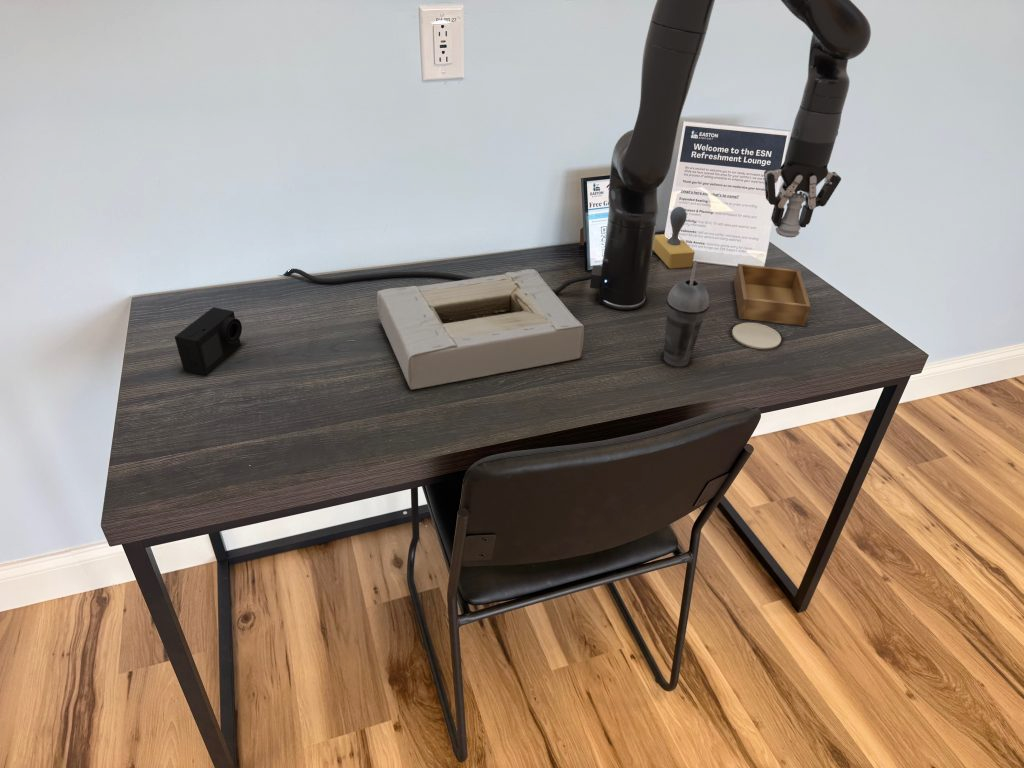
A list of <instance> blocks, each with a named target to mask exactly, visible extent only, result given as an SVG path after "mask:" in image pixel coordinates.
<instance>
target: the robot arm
mask: <svg viewBox="0 0 1024 768" xmlns="http://www.w3.org/2000/svg"><path fill="white" fill-rule="evenodd" d="M715 2H716V0H656V2H655V5H654V8H653V11H652V14H651V17H650V22H649V26H648V30H647V33H646V38H645V42H644V47H643V51H642V52H643V53H642V59H641V73H640V74H641V75H640V76H641V77H640V97H639V98H640V99H639V107H638V111H637V117H636V120H635V124H634V127H633V129H631V130H628V131H627V132H625V133H624V134H622V135H621V136H620V137H619V139H618V140H617V142H616V143H615V145H614V148H613V150H612V154H611V155H612V156H611V162H610V173H609V182H608V183H609V184H608V197H607V199H608V215H607V226H606V234H605V241H604V242H605V243H604V250H603V258H602V262H601V263H602V264H601V265H592V269H591V274H585V275H582V276H581V275H580V276H577V277H573V278H570V279H568V280H566V281H564V282H563V283H562V284H560V285H559V286H558V287H556V288H555V289H551V290H552V291H553V292H554V293H555V295H556V294H559V293H561V292H562V291H563V290H565V289H566V288H567V287H568V286H570V285H573V284H577V283H580V282H584V281H589V280H590V281H589V288H590V289H597V290H599V291H598V299H597V303H598V304H602V305H605V306H607V307H609V308H611V309H615V310H622V311H629V310H630V311H631V310H636V309H639V308H641V307H642V306H644V304H645V303H646V294H647V288H648V282H649V275H650V269H651V261H652V255H653V251H654V250H653V244H654V237H655V235H656V231H657V223H658V219H659V210H660V209H659V202H658V188H659V187H661V185H662V184H663V183H664V182H665V180H666V179H667V177H668V175H669V173H670V170H671V165H672V161H673V157H674V150H675V145H676V138H677V134H678V129H679V123H680V120H681V116H682V113H683V109H684V106H685V103H686V100H687V97H688V95H689V91H690V88H691V85H692V82H693V78H694V75H695V71H696V69H697V66H698V62H699V59H700V56H701V53H702V49H703V46H704V43H705V39H706V36H707V32H708V29H709V24H710V22H711V21H710V20H711V17H712V13H713V10H714V6H715ZM780 2H781V3H782V4H783V5H784V7H786V8H787V9H788V11H789V12H790V13H791V14H792V15H793V16H794V17H795V18H796V19H798V20H799V21H801V22H802V23H803V24H804V25H805V26H806V27H807V28H808V29H809V30H810V32H812V35H811V39H810V44H809V45H810V46H809V54H808V62H807V63H808V64H807V78H806V82H805V86H804V89H803V92H802V96H801V99H800V100H801V101H800V104H799V107H798V110H797V113H796V115H795V118H794V122H793V126H792V129H791V133H790V137H789V141H788V145H787V149H786V152H785V156H784V161H783V163H782V164H781V166H780V167H779V168H778V169H774V170H770V169H766V170H764V172H763V179H764V193H765V199H766V201H768V203H769V205H771V206H772V205H773V209H772V213H771V217H770V220H771V222H772V224H773V225H774V227H776V228H777V227H779V226H780V224H781V220H782V218H783V217H784V214H785V213H784V212H785V206H786V205H787V203H788V201H789V200H788V199H789V198H790V197H791V196H792V194H793V193H794V192H797V191H798V192H800V191H801V192H803V193H805V196H804V197H805V199H806V200H805V201H804V204H803V205H802V208H801V211H800V214H799V222H800V223H799V225H800V228H806V227H807V225H809V224H810V223H811V219H812V216H813V213H814V210H815V209H816V208H817V207H825V206H826V205H827V203H828V202H829V200H830V198H831V197H832V195H833V194H834V192H835V191H836V189H837V188H838V186H839V185H840V182H841V181H842V177H841V176H840V175H839V174H838V173H837V172H836V171H832V172H831V171H829V169H828V165H829V163H830V159H831V157H832V153H833V149H834V147H835V144H836V140H837V137H838V135H839V129H840V126H841V121H842V120H841V119H842V113H843V110H844V107H845V104H846V103H845V102H846V100H847V97H848V93H849V89H850V81H851V80H850V77H849V74H848V72H847V71H848V69H847V67H848V63H849V60H852V59H855V58H857V57H858V56H860V55H861V54H862V53H864V51H865V50H867V49H866V48H868V45H869V43H870V41H871V36H872V30H871V25H870V22H869V20H868V18H867V16H865V14H864V13H863V12H862V11H861V10H860V9H859V7H857V5H856V4H855V3H854V2H853V1H851V0H780ZM780 177H781V179H782V181H783V182H782V183H781V185H780V187H779V191H778V193H777V194H776V183H777V182H778V181H779V178H780ZM822 181H824V184H823V185H822V186H821V188H820V190H819V192H818V193H817V186H818V185H819V184H820V183H821V182H822ZM798 192H797V193H798ZM290 269H291V270H290ZM290 269H289V270H290V271H289V272H288V270H286V271H285V272H284V273H283V276H284V277H288V276H290V275H293V274H297V275H299V276H301V277H303V278H306V279H307V280H308V281H312V282H314V283H320V284H338V283H346V282H353V281H362V280H363V281H364V280H374V279H383V278H394V277H395V278H396V277H434V278H445V279H454V280H458V281H460V280H467V279H475V278H476V277H472V276H469V275H468V276H467V275H463V274H457V273H449V272H438V271H418V270H417V271H390V272H379V273H367V274H358V275H350V276H344V277H334V278H323V277H317V276H314V275H312V274H310V273H308V272H306V271H303V270H302V269H299V268H290Z"/></svg>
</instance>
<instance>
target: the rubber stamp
mask: <svg viewBox="0 0 1024 768" xmlns="http://www.w3.org/2000/svg"><path fill="white" fill-rule="evenodd" d="M687 216H688V214H687V211H686V209H685V208H684V207H682V206H676V207H674V208H673V209H672V211H671V212H670V217H669V219H670V220H669V222H670V226H671V232H672V233H671V234H672V237H671V238H670V239H668V238H666V237H665V234H666V233H664V234H655V237H654V244H653V250H652V251H653V252H654V253H655V254H656V256H658V258H660V260H661V262H663V263H664V264H665V266H667V268H669V270H670V269H672V270H673V269H683V268H692V267H693V264H694V260H695V259H694V257H695V253H696V252H695V250H693V249H692V247H690V246H689V244H687V242H686V241H685V240H683V241H680V240H679V239H678V236H679V234H680V231H681V230H682V229H683V226H684V225H685V223H686V221H687V218H688V217H687Z"/></svg>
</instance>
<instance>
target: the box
mask: <svg viewBox="0 0 1024 768" xmlns="http://www.w3.org/2000/svg"><path fill="white" fill-rule="evenodd" d="M474 278H475V279H467V280H456V281H447V282H440V283H434V284H433V283H432V284H426V285H419V286H417V285H411V286H405V287H402V286H401V287H391V288H390V287H389V288H385V289H381V290H378V291H377V293H376V303H377V311H378V316H379V317H378V318H379V321H380V324H381V326H382V327H383V330H384V332H385V334H386V337H387V339H388V341H389V344H390V346H391V348H392V350H393V354H394V355H395V358H396V359H397V362H398V364H399V366H400V368H401V371H402V374H403V376H404V379H405V381H406V382H407V385H408V387H409V390H411V391H412V390H417V389H425V388H429V387H434V386H439V385H445V384H451V383H454V382H460V381H466V380H472V379H476V378H483V377H487V376H493V375H497V374H503V373H509V372H514V371H519V370H524V369H531V368H536V367H542V366H546V365H552V364H556V363H557V364H559V363H562V362H563V363H564V362H568V361H573V360H578V359H581V358H582V357H581V356H582V354H583V346H584V340H585V327H584V324H583V323H582V322H581V321H579V320H578V319H577V318H576V317H575V316H574V315H573V314H572V312H571V311H570V310H569V309H568V308H567V306H566V305H565V304H564V303H563V301H562V300H561V299H560V298H559V297H558V296H557V295H556V294H555V293H554V292H553V291H552V290H553V289H552V288H551V287H550V286H549V285H548V284H547V282H546V281H545V280H544V279H543V278H542V276H541V275H540V273H539V272H538V271H537V270H536V269H534V268H526V269H521V270H517V271H508V272H505V273H503V274H497V275H490V276H489V275H488V276H482V277H474Z"/></svg>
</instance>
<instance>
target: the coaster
mask: <svg viewBox="0 0 1024 768" xmlns="http://www.w3.org/2000/svg"><path fill="white" fill-rule="evenodd" d="M731 335H732V337H733V339H734V340H735V341H736V342H738V343H739V344H741V345H743V346H745V347H748V348H752V349H754V350H755V349H756V350H772V349H774V348H775V349H776V348H777V347H778V346H780V344H781V342H782V336H781V335H780V333H779V332H778V331H777V330H776V329H774V328H772V327H770V326H768V325H765V324H763V323H759V322H742V323H738V324H736V325H735V326H734V327H733V329H732V330H731Z"/></svg>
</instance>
